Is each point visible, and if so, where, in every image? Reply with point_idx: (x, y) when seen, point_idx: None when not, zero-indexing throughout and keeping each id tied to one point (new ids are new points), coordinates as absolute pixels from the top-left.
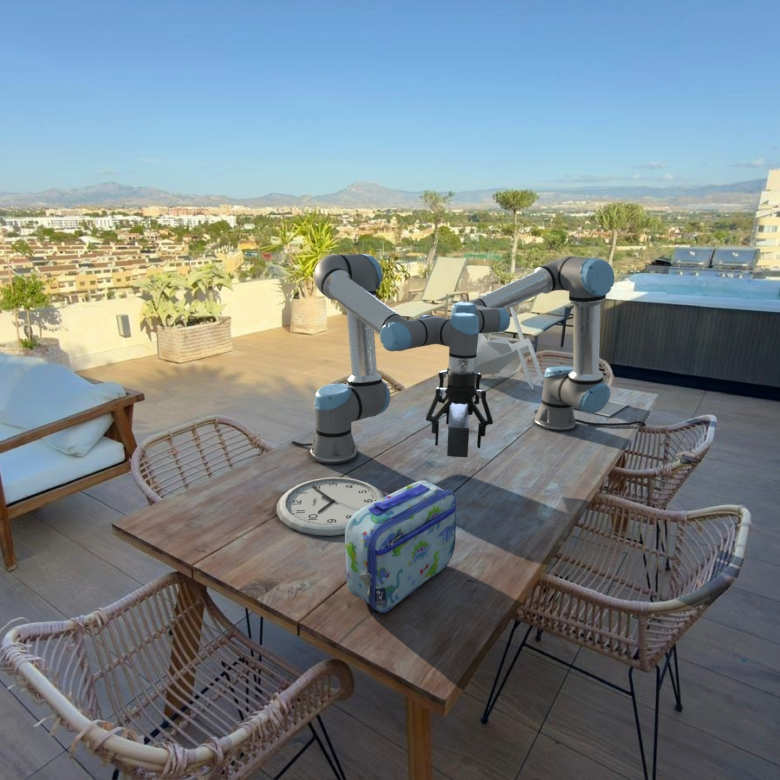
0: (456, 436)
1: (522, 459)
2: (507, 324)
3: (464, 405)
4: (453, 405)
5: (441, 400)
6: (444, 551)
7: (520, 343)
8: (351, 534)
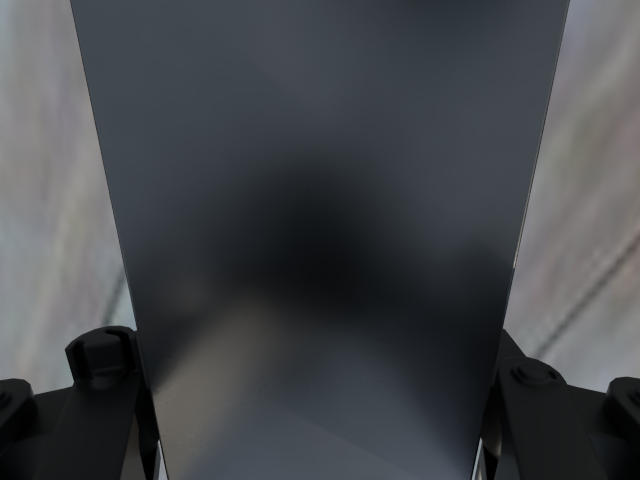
0: None
1: (13, 234)
2: None
3: (178, 137)
4: (451, 86)
5: (624, 402)
6: None
7: None
8: None
